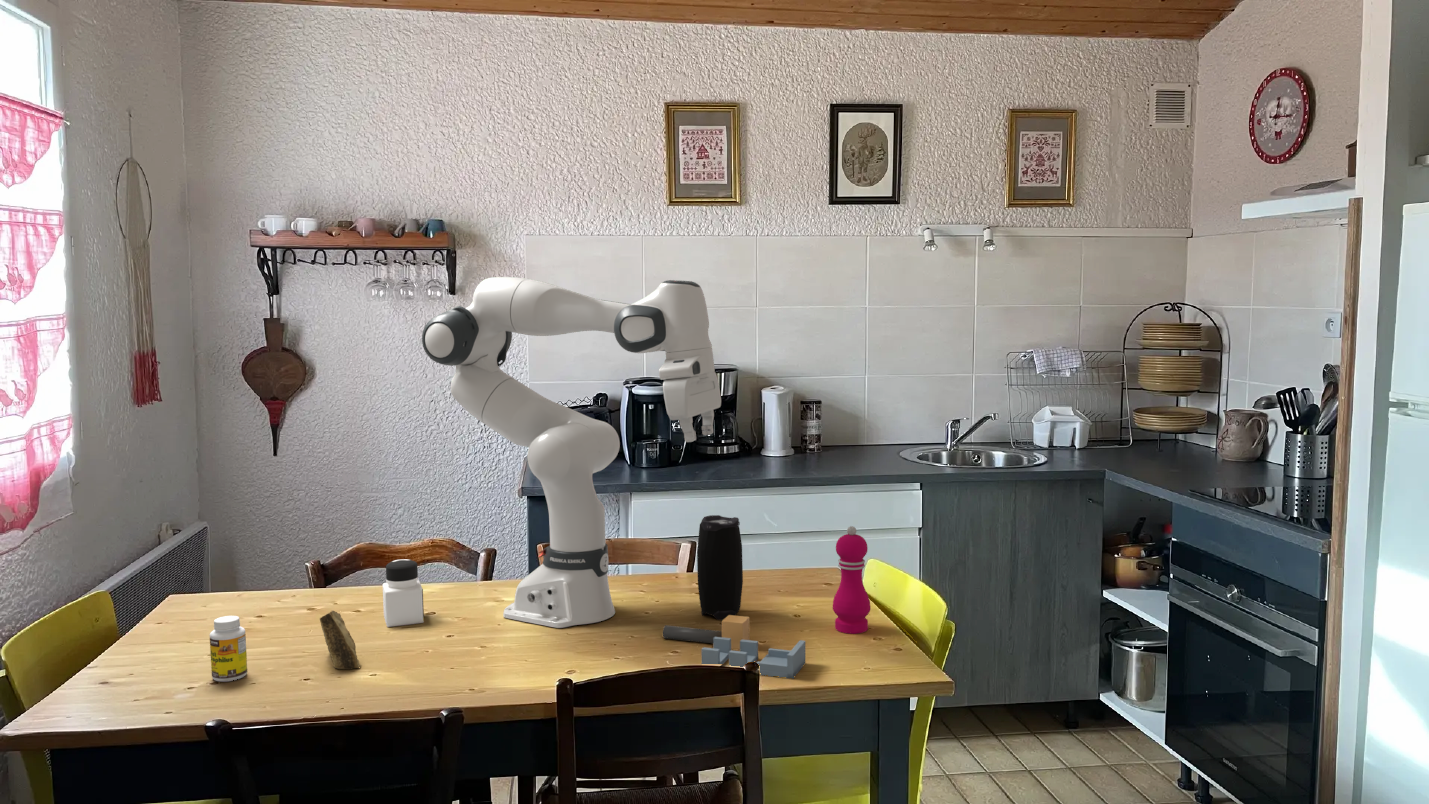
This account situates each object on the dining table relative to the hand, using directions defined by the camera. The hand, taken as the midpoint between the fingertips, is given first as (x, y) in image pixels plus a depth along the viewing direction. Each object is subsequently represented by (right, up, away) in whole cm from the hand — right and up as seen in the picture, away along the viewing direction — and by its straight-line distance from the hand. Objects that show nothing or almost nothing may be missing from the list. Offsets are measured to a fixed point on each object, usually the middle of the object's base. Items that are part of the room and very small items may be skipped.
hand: (699, 437), depth 199 cm
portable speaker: (+4, -36, +13) cm, 39 cm away
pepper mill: (+29, -37, +3) cm, 47 cm away
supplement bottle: (-80, -40, -19) cm, 92 cm away
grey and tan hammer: (+1, -38, -4) cm, 38 cm away
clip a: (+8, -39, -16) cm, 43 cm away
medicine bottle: (-59, -37, +11) cm, 71 cm away
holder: (+14, -39, -18) cm, 45 cm away
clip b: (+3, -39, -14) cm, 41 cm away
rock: (-63, -40, -11) cm, 75 cm away
